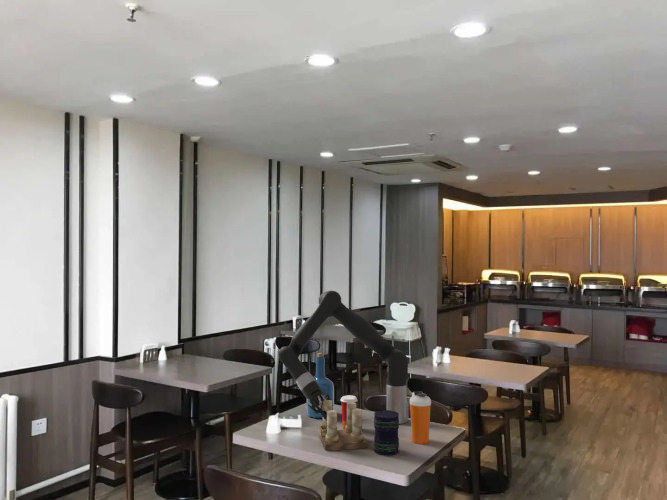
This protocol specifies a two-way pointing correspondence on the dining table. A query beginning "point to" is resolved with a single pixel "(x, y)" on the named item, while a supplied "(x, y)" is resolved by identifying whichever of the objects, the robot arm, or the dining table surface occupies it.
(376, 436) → the storage jar
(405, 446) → the dining table surface
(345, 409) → the paper cup
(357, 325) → the robot arm
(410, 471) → the dining table surface
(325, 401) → the leg
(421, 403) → the shaker bottle
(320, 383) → the wine bottle
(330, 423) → the stool
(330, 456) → the dining table surface
